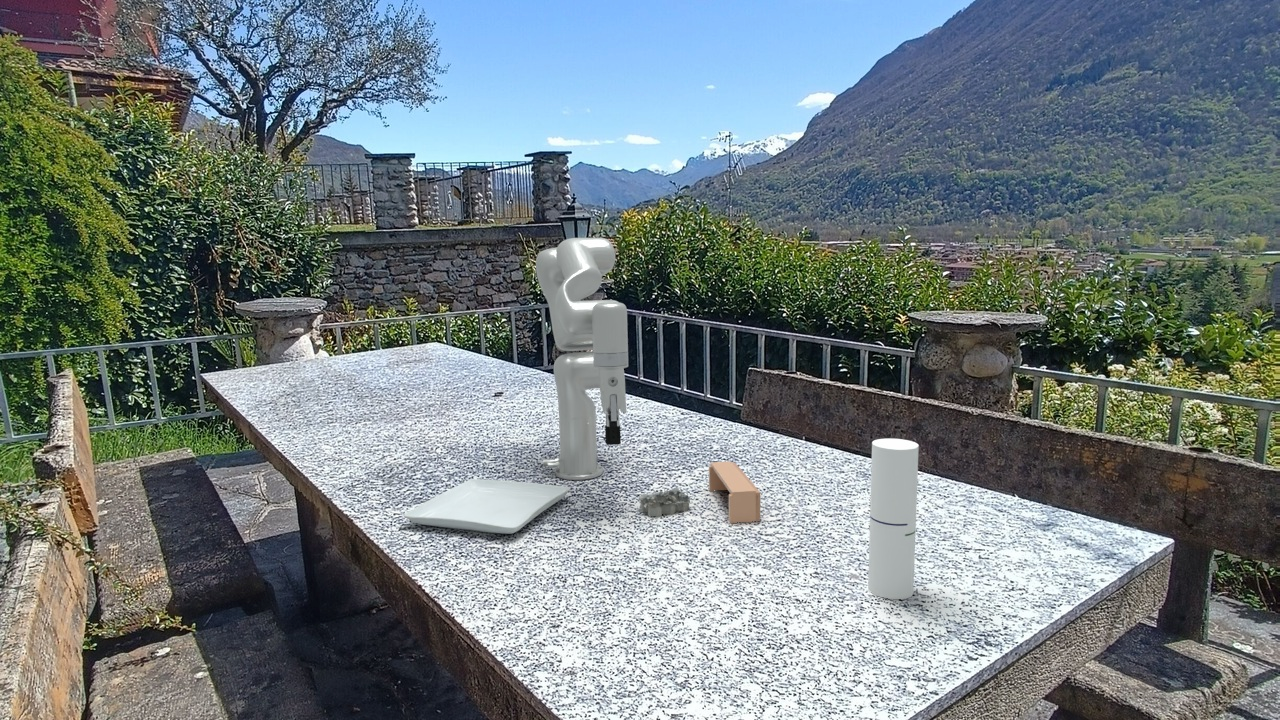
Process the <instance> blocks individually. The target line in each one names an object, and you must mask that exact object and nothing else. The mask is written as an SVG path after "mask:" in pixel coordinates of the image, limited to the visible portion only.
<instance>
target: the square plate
mask: <svg viewBox="0 0 1280 720" xmlns="http://www.w3.org/2000/svg"><path fill="white" fill-rule="evenodd" d="M570 490H571V487H570V486H564V485H556V484H555V485H554V484H553V485H552V484H545V483H537V482H536V483H535V482H525V481H515V480H512V481H511V480H498V479H482V478H481V479H480V478H470V479H468V480H466V481H464V482H462V483H460V484H458V485H456V486H454V487H452V488H449V489H448V490H445V491H443V492H441V493H440V494H437V495H435V496H434V497H432V498H431V499H429V500H427V501H424V502H423V503H421V504H420V505H418V506H416V507H414V508H413V509H411V510H410V511H408V512H406V513H404V514H403V515H402V517H404V519H407V520H409V521H410V522H412V523H415V524H418V525H425V526H430V527H431V526H432V527H439V528H447V529H455V530H464V531H465V530H466V531H473V532H474V531H475V532H480V533H481V532H483V533H492V534H504V535H505V534H506V535H507V534H509V535H510V534H514V533H516V532H518V531H519V530H522V528H523V527H525V526H526V525H527V524H529V523H530V522H531V521H533V520H534V519H535V518H536V517H538V516H539V515H540V514H542V513H543V512H544V511H546V510H547V509H549V508H550V507H552V506H554V505H555V504H556V503H558V502H560V500H562V499H563V498H564V497H565V496H566V495H567V494H568V493H569V491H570Z"/></svg>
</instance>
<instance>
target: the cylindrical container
mask: <svg viewBox="0 0 1280 720" xmlns="http://www.w3.org/2000/svg"><path fill="white" fill-rule="evenodd" d="M919 446H920V445H919V444H918V443H917V442H915V441H912V440H908V439H902V438H878V439H875V440H873V441H872V442H871V469H870V470H871V472H870V473H871V475H870V509H869V515H870V516H869V543H868V545H869V547H868V549H869V550H868V575H867V577H868V578H867V579H868V580H867V581H868V582H867V587H868V590H870V591H871V592H872V594H873V595H875V596H877V597H880V598H882V597H884V598H883V599H886V598H888V599H887V600H893V599H901V600H906V599H909V598H911V597H912V596H913V595H914V582H915V581H914V580H915V579H914V578H915V560H916V559H915V556H916V555H915V554H916V553H915V551H916V549H915V548H916V532H917V531H916V530H917V528H916V527H917V505H918V504H917V503H918V502H917V500H918V499H917V498H918V478H919V477H918V475H919V473H918V472H919V471H918V470H919V469H918V468H919V448H920V447H919ZM870 591H869V592H870Z"/></svg>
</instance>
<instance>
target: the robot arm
mask: <svg viewBox="0 0 1280 720" xmlns="http://www.w3.org/2000/svg"><path fill="white" fill-rule="evenodd" d="M615 263H616V251H615V248H614V245H613V244H612V242H611V241H610V240H608V239H607V238H604V237H571V238H566V239H564V240H562V241H561V242H560V243H559V244H558V246H557V247H551V248H547V249H544V250H542V251H540V252H539V253H538V254H537V257H536V260H535V271H536V276H537V277H536V278H537V281H538V284H539V286H540V290H541V292H542V293H543V295H544V298H545V299H546V301H547V304H548V309H549V315H550V323H551V328H552V333H553V338H554V342H555V345H556V347H557V348H558V349H559V350H561V351H566V352H569V353H565V354H562V355H560V356H558V357H557V358H556V359H555V360H554V364H553V377H554V381H555V386H556V393H557V401H558V423H559V424H558V426H559V427H558V430H559V454H558V457H555V458H553V459H552V458H543V459H542V466H543V467H547V469H552V468H555V469H554V475H555V476H556V477H558V478H560V479H563V480H568V481H569V480H571V481H581V480H590V479H594V478H598V477H600V476H601V475H603V473H604V467H603V466H602V465H601V464H598V446H597V444H598V440H597V416H596V415H597V408H596V405H595V402H594V401H593V399H592V398H591V397H590V396H589V395H588V394H587V392H586V391H587V390H593V389H595V390H596V389H599V395H600V401H601V402H600V403H601V409H602V411H603V414H604V415H605V425H604V432H605V433H604V435H605V444H606V446H611V445H613V446H614V445H620V444H621V443H622V442H621V441H622V440H621V438H622V436H621V424H620V413H622V415H625V414H626V413H627V402H626V401H627V399H626V396H627V395H626V377H625V370H624V369H626V368H628V367H629V344H628V343H629V338H628V310H627V306H626V305H625V304H624V303H623V302H619V301H617V300H614V299H603V300H602V299H601V300H600V299H599V300H598V299H597V300H596V299H594V300H592V299H591V300H584V299H586V298H587V297H590V296H592V295H593V294H594V293H596V292H597V291H598V290H599V288H600V287H601V285H602V279H603V276H605V275H606V274H608V273H610V272H611V271H612V270H613V268H614V266H615ZM575 351H578V352H575ZM579 351H580V352H579ZM581 351H582V352H581Z"/></svg>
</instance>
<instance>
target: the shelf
mask: <svg viewBox="0 0 1280 720" xmlns="http://www.w3.org/2000/svg"><path fill="white" fill-rule="evenodd" d="M709 490H710V491H713V492H715V491H714V490H728V491H727V492H729V494H728V523H729V522H730V523H732V524H740V523H739V522H749V523H758V522H757V521H760V522H761V491H760V490H759V489H758V488H757V486H755V484H754V483H753V482H752V481H751V480H750V478H749V477H748V476H747V475H746V474H745V472H744V471H743V470H742V469H741V468H740V466H739V465H738V464H737V463H736V462H732V461H716V462H715V461H713V462H712V461H711V462H710V465H708V491H709ZM710 491H709V492H710ZM752 521H753V522H752ZM754 521H756V522H754ZM737 522H738V523H737ZM730 523H729V524H730Z"/></svg>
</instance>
